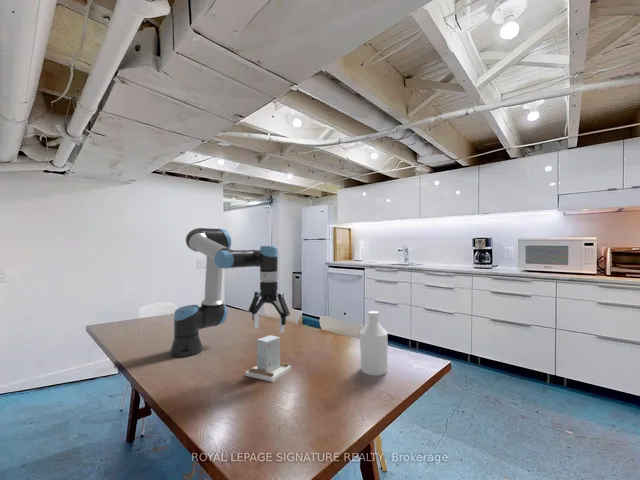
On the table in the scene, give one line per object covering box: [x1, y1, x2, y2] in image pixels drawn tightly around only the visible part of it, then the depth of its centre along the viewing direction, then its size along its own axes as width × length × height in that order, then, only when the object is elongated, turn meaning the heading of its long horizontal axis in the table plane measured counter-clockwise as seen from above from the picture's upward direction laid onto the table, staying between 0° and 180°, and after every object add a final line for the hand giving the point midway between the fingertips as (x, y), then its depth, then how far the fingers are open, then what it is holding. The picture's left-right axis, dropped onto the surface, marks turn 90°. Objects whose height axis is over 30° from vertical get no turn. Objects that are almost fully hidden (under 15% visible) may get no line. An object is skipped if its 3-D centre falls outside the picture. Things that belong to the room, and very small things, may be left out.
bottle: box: [359, 310, 389, 376], centre depth 129 cm, size 12×12×25 cm
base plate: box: [244, 361, 292, 383], centre depth 127 cm, size 14×14×3 cm
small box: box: [256, 334, 281, 372], centre depth 128 cm, size 8×6×13 cm
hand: (268, 330), depth 128 cm, fingers open, 13 cm apart
